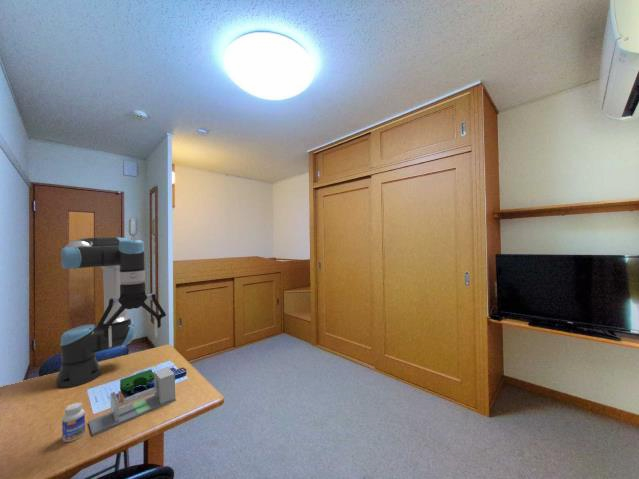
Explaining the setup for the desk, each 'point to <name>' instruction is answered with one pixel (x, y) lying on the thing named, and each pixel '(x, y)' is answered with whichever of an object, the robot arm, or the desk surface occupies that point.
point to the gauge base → (140, 403)
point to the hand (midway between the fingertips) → (134, 341)
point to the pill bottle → (73, 422)
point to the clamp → (136, 380)
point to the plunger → (127, 400)
